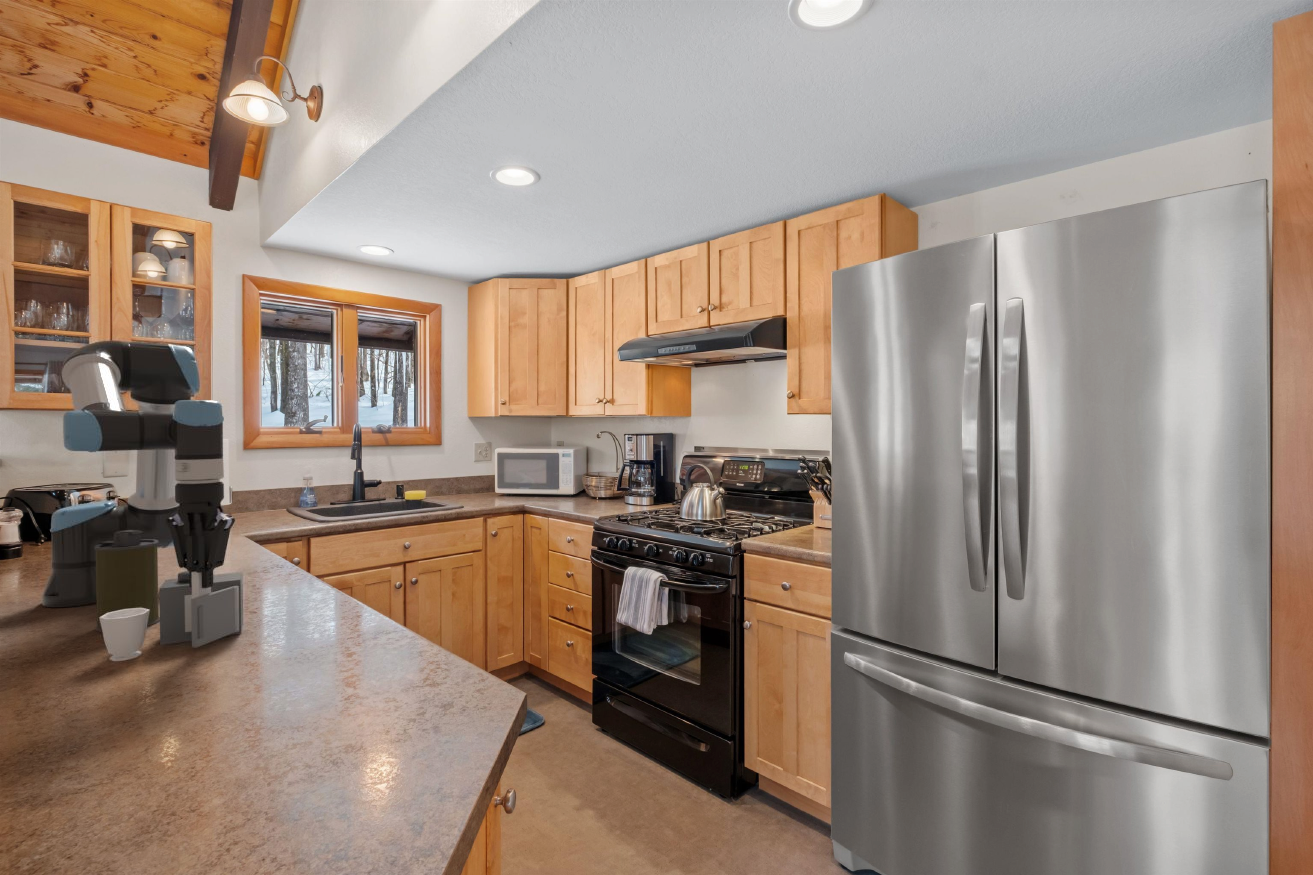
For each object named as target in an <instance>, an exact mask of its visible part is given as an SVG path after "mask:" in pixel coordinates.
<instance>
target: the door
mask: <svg viewBox="0 0 1313 875" xmlns="http://www.w3.org/2000/svg"><path fill="white" fill-rule="evenodd" d="M191 622H192V641H191V648H199V647H201V646H204V645H206V644H208V643H212V642H214V641H217V640H219V639H221V638H224V637H226V636H227V635H228V636H230V635H229V634H232V633H234V632H238V631H239V588H238V586H231V587H229V588H226V589H222V590H219V591H216V592H213V593H209V594H206V595H203V596H200V597H196V598H193V599H191ZM228 636H227V637H228Z"/></svg>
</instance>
